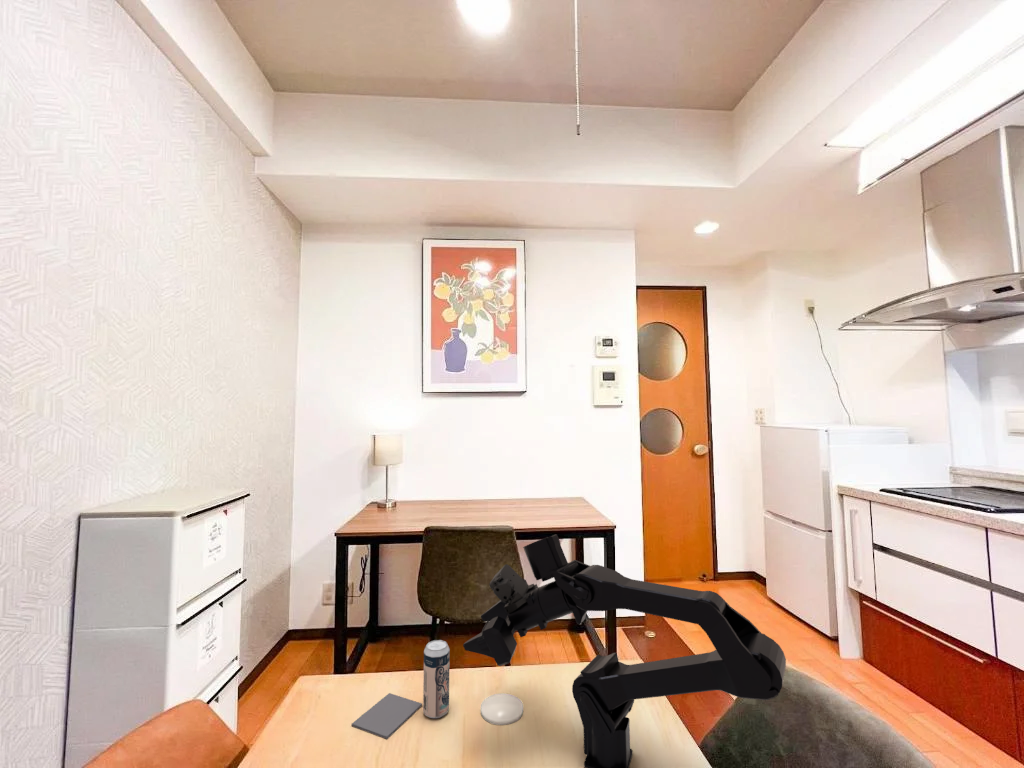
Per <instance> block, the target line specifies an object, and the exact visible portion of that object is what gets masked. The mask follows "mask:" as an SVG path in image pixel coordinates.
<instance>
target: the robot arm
mask: <svg viewBox="0 0 1024 768" xmlns="http://www.w3.org/2000/svg"><path fill="white" fill-rule="evenodd" d="M522 548H523V550H524V553H525V556H526V559H527V561H528V564H529V566H530V569H531V571H532V574H533V577H534V578H535V580H536V581H539V580H541V581H542V582H545V581H546V582H547V581H549V580H551V579H554V581H550V582H548V583H546V584H544V585H541V586H538V584H537V583H536V584H534V583H531V584H528V582H527V579H525V578H523V577H522V576H520V575H519V573H518V572H516V570H514V569H513V567H511V565H509V564H507V563H506V564H504V565H503V566H502V567H501V568H500V569H499V570H498V571H497V573H495V574H494V576H493V578H492V579H491V580H490V582H489V584H488V585H489V588H490V589H491V590H492V591H493V594H494V596H496V597H497V599H499V600H498V601H497V602H496V603H495V604H493V605H492V606H491V607H490V608H488V609H487V610H486V611H485V612H483V613H482V614H481V615H480V618H481V620H482V622H486V623H485V624H484V626H483V628H482V630H481V632H480V633H478V634H476V635H475V636H473V637H471V638H469V639H468V640H466V641H465V642H464V643H463V645H462V646H463V649H464V650H465V651H467V652H471V653H475V654H479V655H483V656H487V657H490V658H492V659H493V660H494V661H495V664H496V665H497V666H498V667H502V666H505V665H507V664H510V663H511V660H512V659H513V655H514V654H515V651H516V649H517V645H518V642H517V640H516V638H515V637H514V635H515V632H517V634H519V636H520V638H524V637H525V636H527V633H528V631H529V630H531V629H534V628H535V627H539V629H540V630H541V631H542V630H544V629H547V626H548V623H549V622H552V621H555V620H557V619H560V618H562V617H564V616H567V615H571V614H572V615H573V616H574V619H575V623H576V624H577V625H582V623H583V622H584V621H585V620H586V618H587V617H586V616H587V612H605V611H613V610H629V611H633V612H638V613H643V614H648V615H653V616H657V617H660V618H661V617H662V618H667V619H671V620H675V621H676V620H677V621H682V622H685V623H690V624H694V625H698V626H699V627H700V628H701V629H702V630H703V632H704V633H705V634H706V636H707V637H708V639H709V640H710V643H712V645H713V647H714V650H713V651H710V652H705V653H699V654H691V655H685V656H678V657H673V658H665V659H660V660H652V661H646V662H640V663H634V664H626V663H624V662H621V661H619V656H618V654H617V652H612V653H611V654H608V655H601V654H597V655H596V656H595V657H594V658H592V660H590V662H589V663H588V664H586V666H585V667H584V668H583V669H582V670H581V671H580V674H578V676H577V677H576V678H574V680H573V683H572V686H571V687H572V688H571V690H572V695H573V699H574V702H575V703H576V707H577V711H578V714H579V716H580V720H581V723H582V726H583V754H584V755H585V758H584V761H583V765H584V768H630V766H631V765H630V764H631V761H632V758H633V752H634V751H633V749H632V748H631V741H630V740H631V735H630V734H631V733H630V732H631V731H630V718H629V717H627V716H628V714H629V713H630V712H631V711H632V709H633V706H634V703H635V700H641V699H650V698H660V697H668V696H676V695H677V696H678V695H685V694H687V695H688V694H695V693H703V692H704V693H705V692H713V691H720V692H724V693H726V694H729V695H732V696H734V697H736V698H740V699H749V700H760V701H761V700H762V701H769V700H772V699H775V698H777V697H778V696H779V694H780V693H781V690H782V688H783V685H784V678H785V672H786V667H787V658H786V655H785V653H784V651H783V649H782V647H781V646H780V645H779V644H778V643H777V641H775V640H774V639H773V638H771V637H769V636H767V635H766V634H765V633H762V632H761V631H760V630H759V629H758V628H757V626H755V625H754V623H752V621H750V620H749V619H748V618H747V617H745V616H744V615H743V614H741V613H740V612H739V611H737V610H736V609H735V608H734V607H732V606H730V604H728V602H727V601H726V600H725V599H724V598H723V597H722V596H721V595H720V594H718V593H717V592H715V591H712V590H697V589H691V588H685V587H680V586H672V585H667V584H661V583H655V582H649V581H644V580H639V579H638V580H637V579H631V578H629V577H626V576H624V575H622V574H621V573H620V572H618V571H616V570H614V569H612V568H608V567H606V566H603V565H599V564H592V565H590V564H587V563H585V562H581V561H579V560H576V559H573V560H571V561H569V562H568V561H567V557H566V555H565V553H564V550H563V548H562V546H561V541H560V538H559V536H558V534H553V535H551V536H549V537H548V536H546V537H544V538H541V539H538V540H536V541H534V542H531V543H529V544H527V545H525V546H523V547H522Z"/></svg>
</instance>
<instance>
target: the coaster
mask: <svg viewBox="0 0 1024 768" xmlns="http://www.w3.org/2000/svg"><path fill="white" fill-rule="evenodd" d="M523 714H524V703H523V702H522V700H521V699H520V698H519V697H518V696H516V695H513V694H510V693H504V692H503V693H494V694H492V695H488V696H487V697H486V698H484V700H482V701H481V703H480V716H481V717H482V718H483V720H484V721H485V722H486V723H487V722H488V723H489V724H492V725H497V726H507V725H511V724H514V723H515V722H518V721H519V720H520V719H521V718H522V717H523Z"/></svg>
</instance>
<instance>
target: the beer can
mask: <svg viewBox="0 0 1024 768" xmlns="http://www.w3.org/2000/svg"><path fill="white" fill-rule="evenodd" d="M450 650H451V649H450V646H449V645H448V642H447V641H445V640H442V639H434V640H431V641H428V643H427V644H426V645H425V647H424V650H423V685H422V687H423V690H422V693H423V695H422V700H423V701H422V713H423V715H424V716H426V717H428V718H430V719H439V718H442V717H443V716H446V715H447V714H448V712H449V711H450V710H449V709H450V665H451V663H450Z"/></svg>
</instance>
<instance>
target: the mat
mask: <svg viewBox="0 0 1024 768" xmlns="http://www.w3.org/2000/svg"><path fill="white" fill-rule="evenodd" d="M421 708H423V702H419V701H417V700H416V701H415V700H413V699H409V698H406V697H404V696H403V697H402V696H401V695H396V694H393V693H391V692H389V693H387V694H386V695H385V696H384V697H382V698H381V699H380V700H378V701H377V702H376V703H375V704H374V705H373V706H372V707H370V708H369V709H368V710H367V711H365V712H364V713H363V714H362V715H361V716H359V717H358V718H357V719H356V720H355V721H353V722H351V727H353V728H356V729H358V730H361V731H364V732H366V733H368V734H369V733H370V734H372V735H373V736H374V735H375V736H378V737H379V738H383V739H385V740H388V739H389V738H390V737H391V736H392V735H393V734H395V733H396V732H397V730H398V729H399V728H401V726H403V725H404V724H405V723H406V722H407V721H408V720H409V719H410V718H411V717H413V715H414V714H415V713H416V712H417V711H419V710H420V709H421Z"/></svg>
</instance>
